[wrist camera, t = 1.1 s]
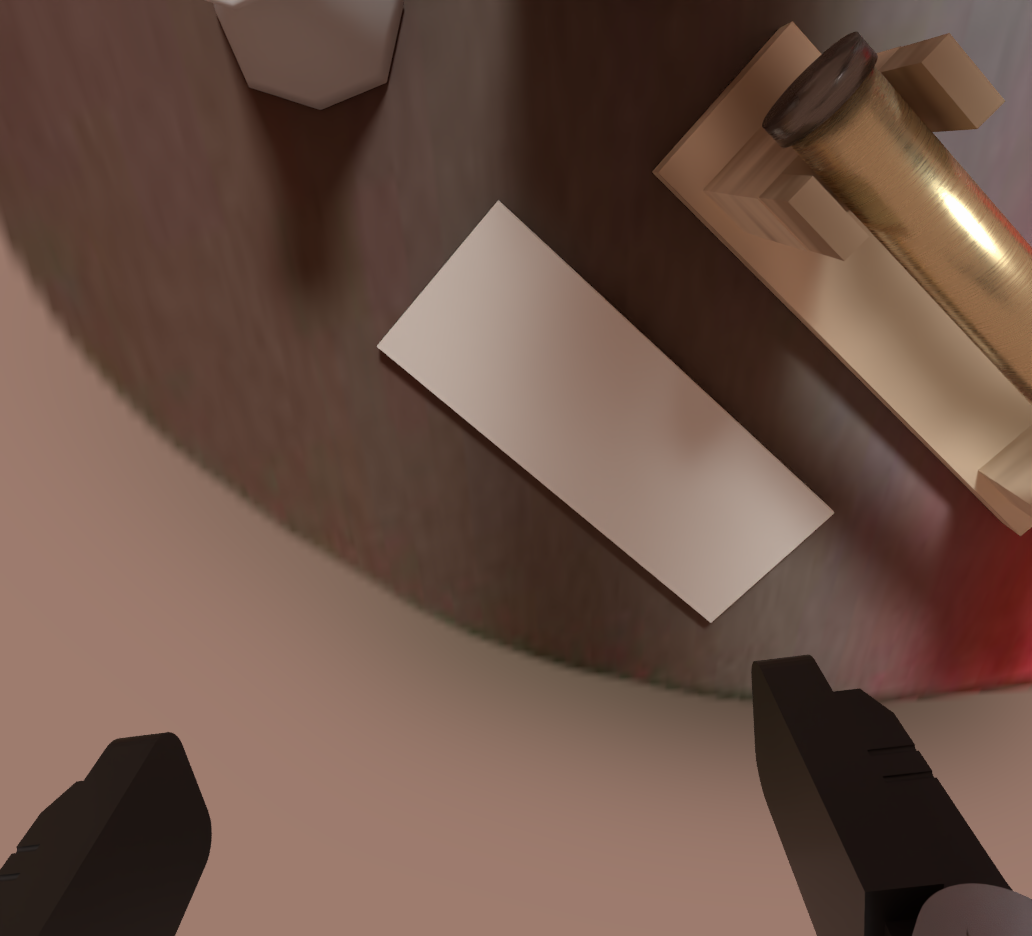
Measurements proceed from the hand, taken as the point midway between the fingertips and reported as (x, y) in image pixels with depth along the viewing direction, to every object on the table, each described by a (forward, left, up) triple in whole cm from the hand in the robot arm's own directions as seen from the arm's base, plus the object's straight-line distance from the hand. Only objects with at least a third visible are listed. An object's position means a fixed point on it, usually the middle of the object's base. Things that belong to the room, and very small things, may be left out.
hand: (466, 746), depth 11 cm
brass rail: (-13, +12, -17) cm, 25 cm away
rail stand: (-13, +12, -26) cm, 31 cm away
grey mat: (-1, +7, -26) cm, 27 cm away
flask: (-5, -14, -26) cm, 30 cm away
